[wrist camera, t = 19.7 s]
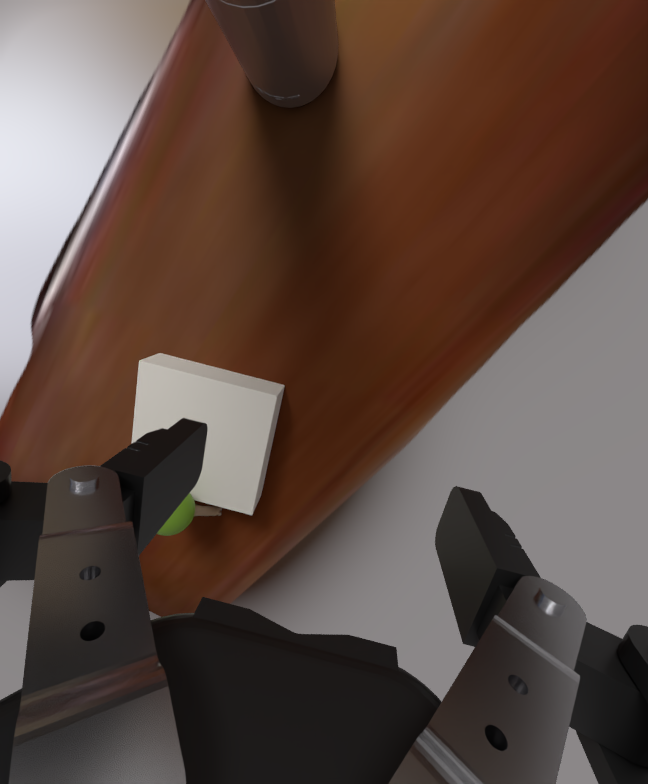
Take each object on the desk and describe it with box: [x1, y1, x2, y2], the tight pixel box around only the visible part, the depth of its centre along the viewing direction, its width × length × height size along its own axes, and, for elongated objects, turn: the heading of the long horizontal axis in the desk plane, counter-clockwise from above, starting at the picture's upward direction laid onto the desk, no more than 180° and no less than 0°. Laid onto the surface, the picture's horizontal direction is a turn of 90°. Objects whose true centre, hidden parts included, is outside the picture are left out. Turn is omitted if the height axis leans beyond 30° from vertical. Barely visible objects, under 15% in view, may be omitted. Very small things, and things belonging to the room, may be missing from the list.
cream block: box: [132, 353, 285, 515], centre depth 47 cm, size 16×16×5 cm
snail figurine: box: [157, 493, 222, 536], centre depth 46 cm, size 5×6×12 cm
